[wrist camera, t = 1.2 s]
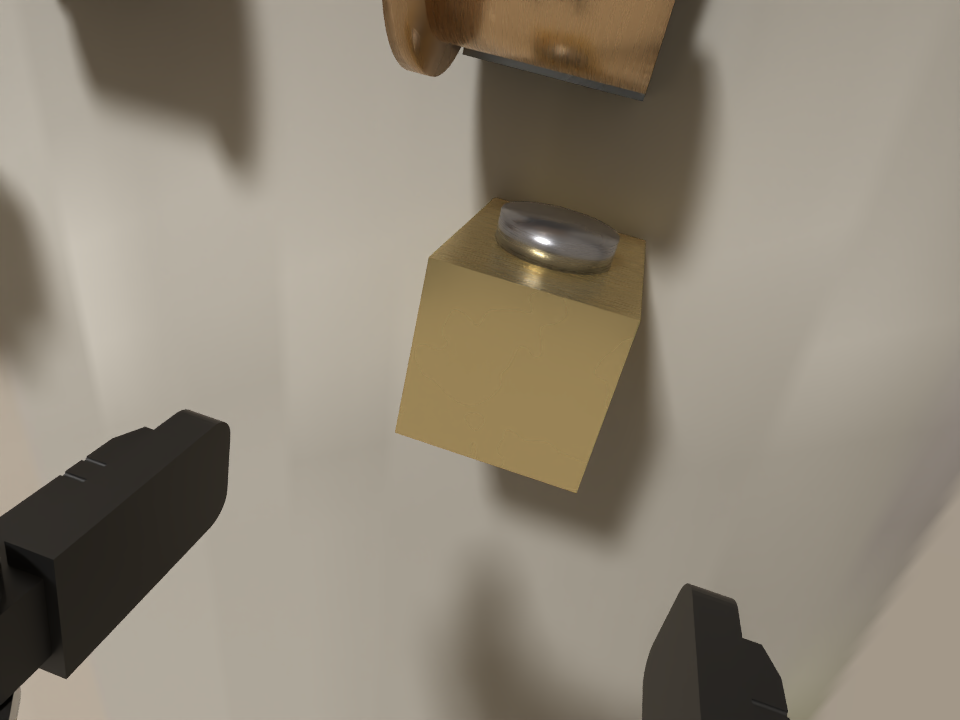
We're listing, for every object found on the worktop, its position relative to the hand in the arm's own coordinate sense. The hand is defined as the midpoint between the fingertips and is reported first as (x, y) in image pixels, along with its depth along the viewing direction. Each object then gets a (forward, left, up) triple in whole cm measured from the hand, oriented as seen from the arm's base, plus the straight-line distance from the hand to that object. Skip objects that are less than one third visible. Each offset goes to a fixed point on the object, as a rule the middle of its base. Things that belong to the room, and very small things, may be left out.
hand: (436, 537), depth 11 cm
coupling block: (0, 0, -13) cm, 13 cm away
